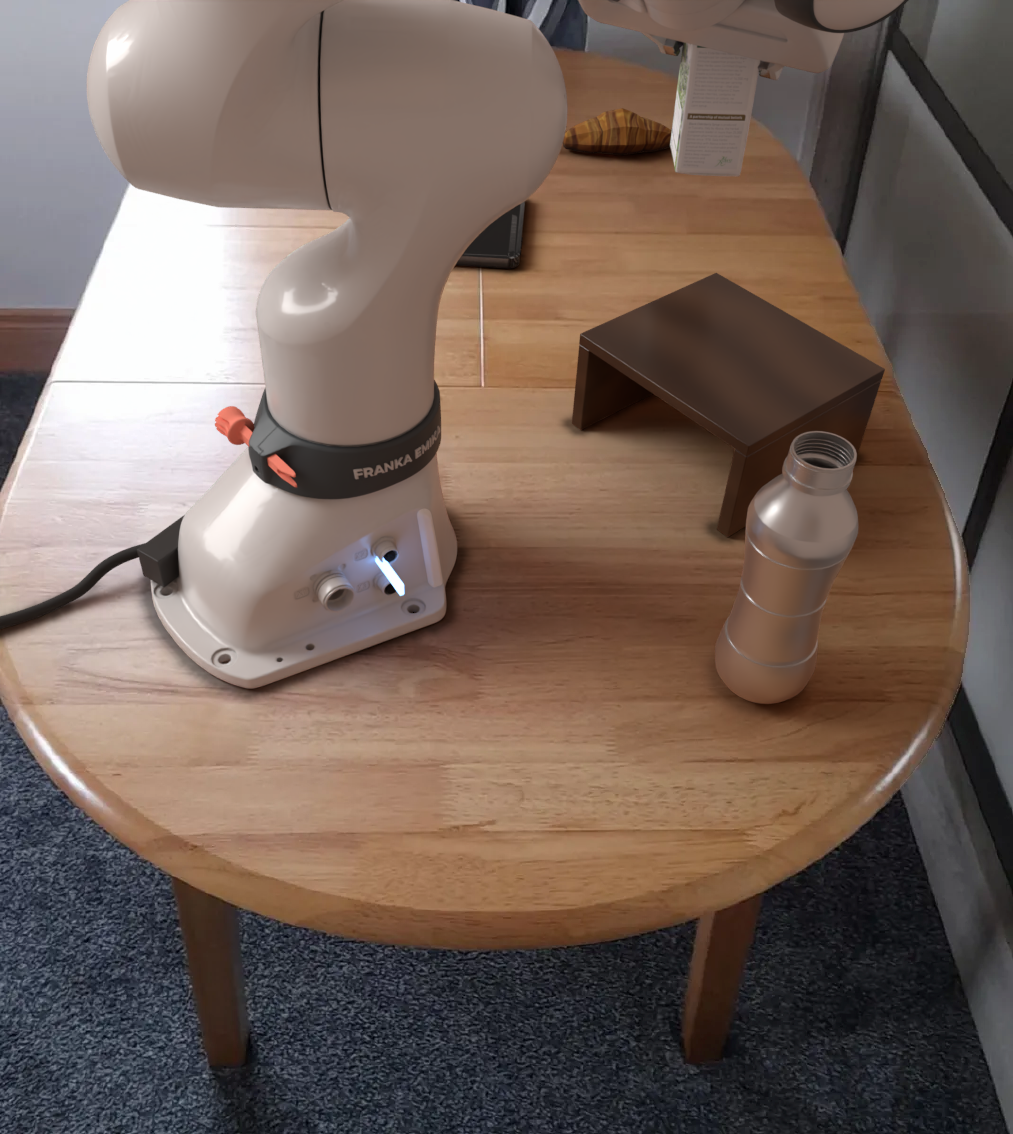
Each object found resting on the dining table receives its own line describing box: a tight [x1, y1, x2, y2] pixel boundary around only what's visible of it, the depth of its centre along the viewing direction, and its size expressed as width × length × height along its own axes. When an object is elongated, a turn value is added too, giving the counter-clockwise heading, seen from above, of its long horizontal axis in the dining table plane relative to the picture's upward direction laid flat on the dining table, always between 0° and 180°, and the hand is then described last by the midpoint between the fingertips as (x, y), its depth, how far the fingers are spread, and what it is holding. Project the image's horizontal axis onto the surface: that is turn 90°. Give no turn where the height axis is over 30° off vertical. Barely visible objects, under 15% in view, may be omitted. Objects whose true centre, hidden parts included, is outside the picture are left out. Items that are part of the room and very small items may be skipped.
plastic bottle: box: [714, 431, 859, 705], centre depth 72 cm, size 6×7×20 cm
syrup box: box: [669, 42, 761, 178], centre depth 95 cm, size 6×6×14 cm
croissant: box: [562, 107, 672, 156], centre depth 136 cm, size 14×7×5 cm, turn 98°
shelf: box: [571, 272, 886, 538], centre depth 95 cm, size 16×18×9 cm
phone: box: [455, 201, 526, 269], centre depth 122 cm, size 8×1×15 cm
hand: (721, 58), depth 94 cm, fingers closed on syrup box, 7 cm apart
